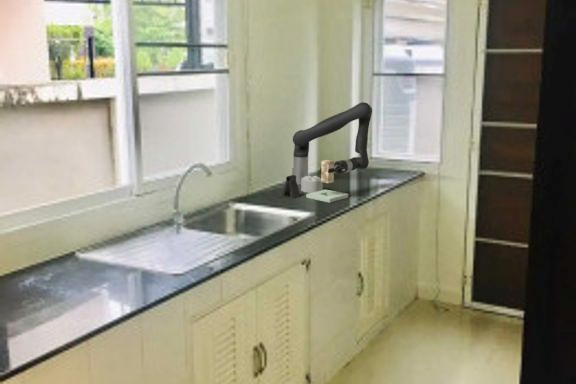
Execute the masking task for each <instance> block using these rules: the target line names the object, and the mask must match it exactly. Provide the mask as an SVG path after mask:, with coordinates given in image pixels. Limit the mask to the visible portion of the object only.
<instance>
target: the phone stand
mask: <svg viewBox="0 0 576 384" xmlns="http://www.w3.org/2000/svg"><path fill="white" fill-rule="evenodd" d="M298 186H299V185H298V184H297V182H296V176H295V175H292V174H291V175H288V176H286V177H285V183H284V187H283V190H282V193H281V197H285V198H290V197H291V198H290V199H296V198H299V197H301V193H300V189H299V187H298Z"/></svg>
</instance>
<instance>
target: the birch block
mask: <svg viewBox="0 0 576 384" xmlns="http://www.w3.org/2000/svg"><path fill="white" fill-rule="evenodd" d="M334 163H335V161H334V160H329V159H326V160H321V167H320V168H322V170H321V171H320V172H321V173H320V178H321V182H323V184H324V183H325V184H331V183H334V181H335V179H334V177H335V175H334V174H335V173H334V172H332V173H328V169H331V168H334Z"/></svg>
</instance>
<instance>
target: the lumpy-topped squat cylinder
mask: <svg viewBox="0 0 576 384" xmlns="http://www.w3.org/2000/svg"><path fill="white" fill-rule="evenodd" d="M300 187H301V188H300V190H301V191H302V192H304V193H307V194H309V193H313V192H317V191H321V190H324V182H321V177H320V176H318V175H313V176H312V175H308V176H305V177H303V178H302V179H301V185H300Z"/></svg>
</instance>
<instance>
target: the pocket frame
mask: <svg viewBox="0 0 576 384" xmlns="http://www.w3.org/2000/svg"><path fill="white" fill-rule="evenodd" d="M305 196H306V197H305V198H307V199H312V200H316V201H321V202H325V203H333V202H337V201H340V200H344V199H347V198H349V193H345V192H342V191H341V192H339V191H334V190H329V189H323V190H321V191H317V192H313V193H306V194H305Z"/></svg>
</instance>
